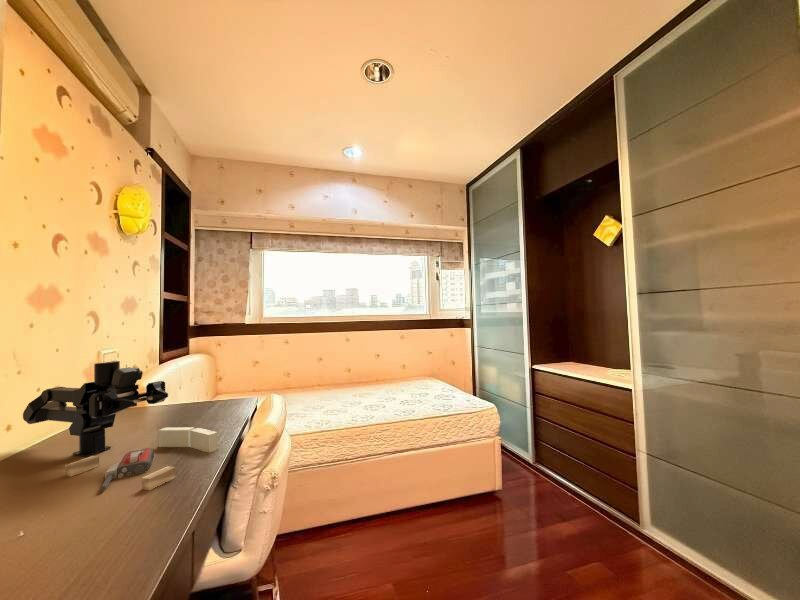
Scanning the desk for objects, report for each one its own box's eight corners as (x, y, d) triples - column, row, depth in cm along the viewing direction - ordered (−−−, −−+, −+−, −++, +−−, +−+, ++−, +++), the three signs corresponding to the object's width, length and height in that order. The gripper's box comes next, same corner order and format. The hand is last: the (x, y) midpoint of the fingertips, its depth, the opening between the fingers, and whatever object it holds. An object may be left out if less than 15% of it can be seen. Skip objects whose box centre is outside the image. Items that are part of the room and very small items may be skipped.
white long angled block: (157, 446, 103) (157, 430, 103) (171, 441, 107) (171, 425, 107) (210, 452, 96) (210, 435, 96) (223, 446, 100) (223, 429, 100)
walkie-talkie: (115, 464, 92) (96, 496, 75) (115, 447, 92) (96, 475, 75) (155, 456, 96) (145, 484, 79) (155, 440, 97) (145, 465, 79)
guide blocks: (64, 475, 85) (65, 465, 85) (93, 465, 91) (93, 455, 91) (149, 490, 75) (149, 478, 76) (175, 477, 81) (175, 467, 81)
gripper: (74, 375, 90) (113, 376, 85) (146, 364, 108) (182, 364, 103) (74, 417, 90) (113, 420, 85) (146, 399, 107) (182, 401, 102)
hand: (151, 399), depth 94 cm, fingers open, 9 cm apart
